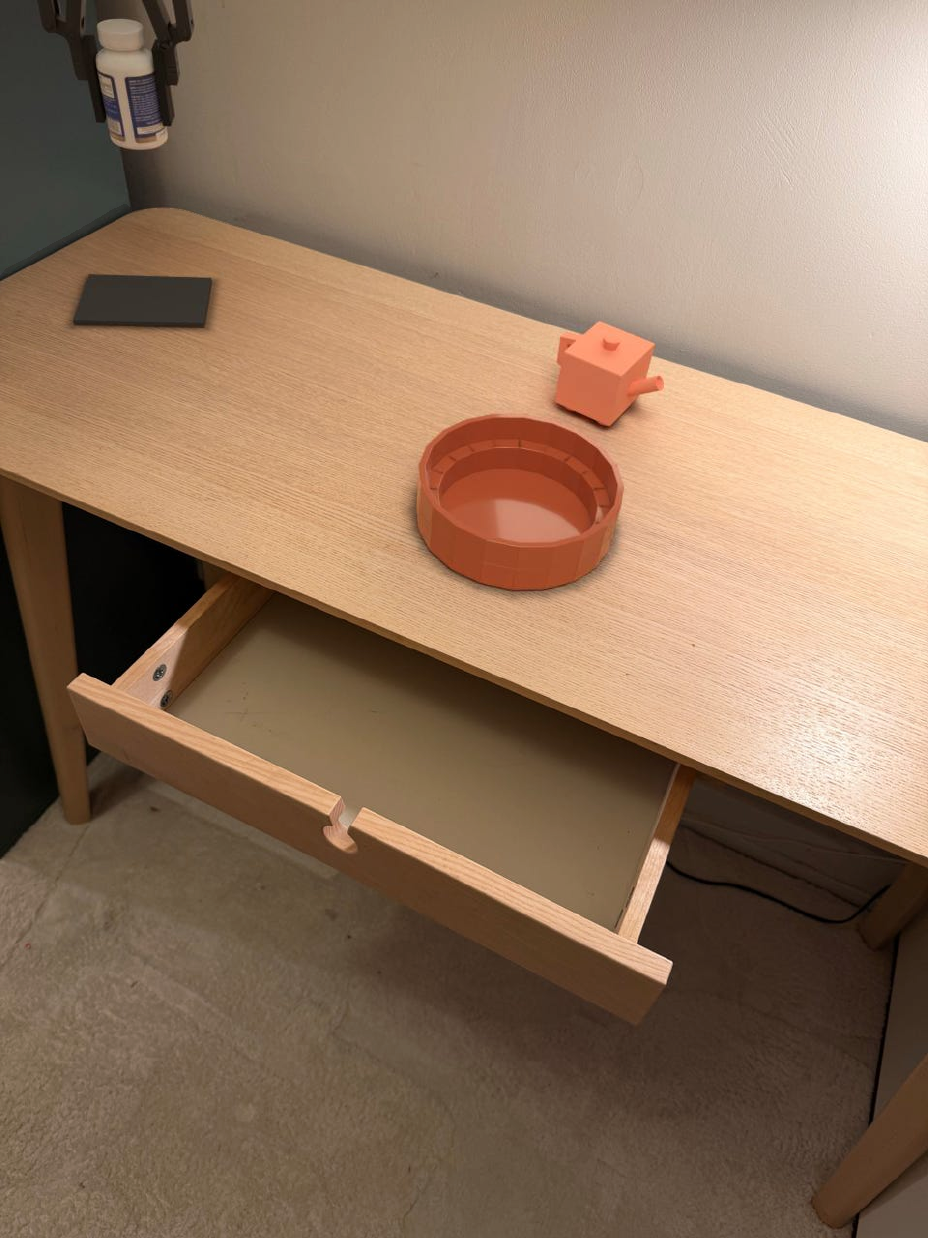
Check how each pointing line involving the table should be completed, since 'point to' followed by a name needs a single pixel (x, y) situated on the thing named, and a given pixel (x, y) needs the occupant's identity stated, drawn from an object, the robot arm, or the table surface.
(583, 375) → the pink cube teapot
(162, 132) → the pill bottle
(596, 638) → the table surface
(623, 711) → the table surface
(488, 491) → the bowl
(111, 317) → the mat
